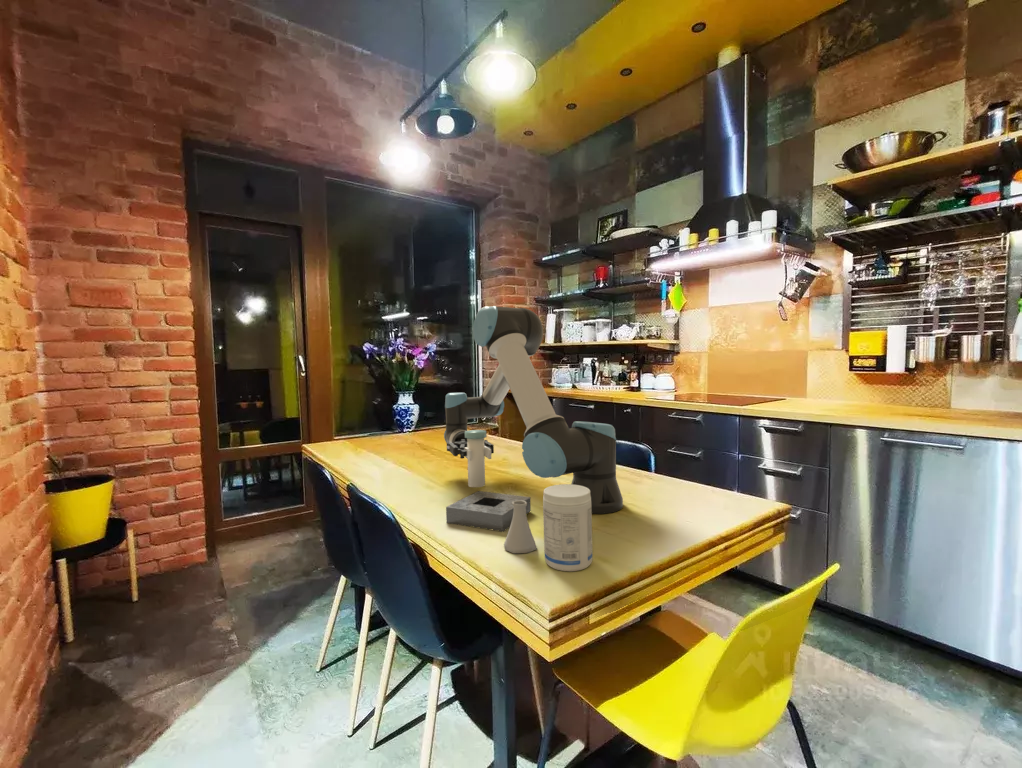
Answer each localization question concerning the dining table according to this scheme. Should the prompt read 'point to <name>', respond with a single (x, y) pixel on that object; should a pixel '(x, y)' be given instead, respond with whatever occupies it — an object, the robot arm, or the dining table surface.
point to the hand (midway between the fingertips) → (480, 455)
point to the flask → (519, 531)
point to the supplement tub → (567, 527)
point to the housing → (485, 510)
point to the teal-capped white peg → (476, 457)
